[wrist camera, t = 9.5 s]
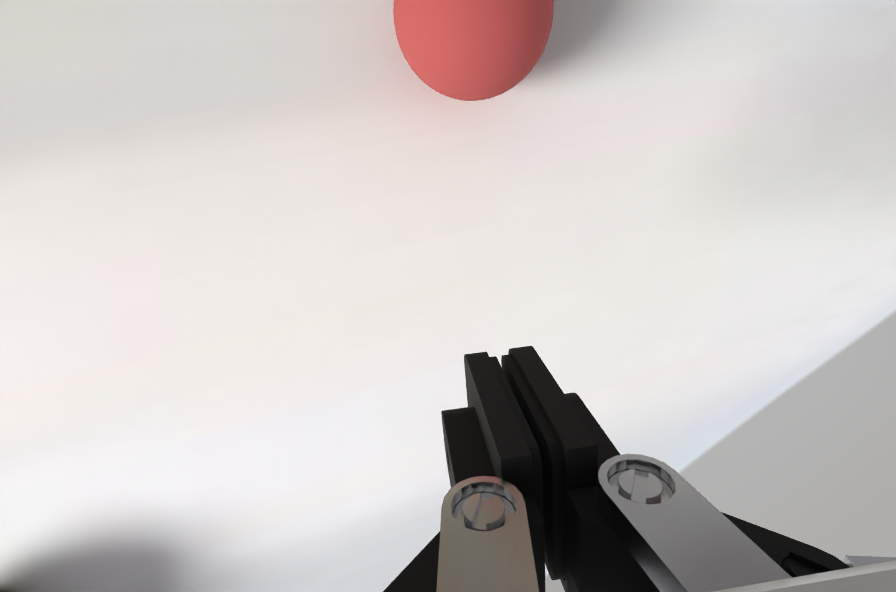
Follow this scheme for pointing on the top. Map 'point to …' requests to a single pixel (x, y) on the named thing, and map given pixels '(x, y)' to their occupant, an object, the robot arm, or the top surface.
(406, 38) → the ball
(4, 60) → the top surface
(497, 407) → the robot arm
